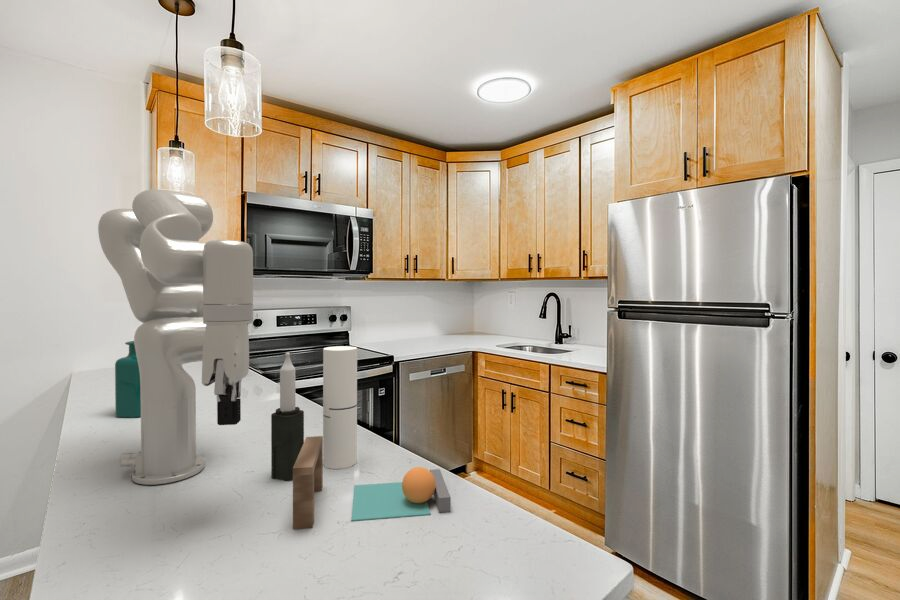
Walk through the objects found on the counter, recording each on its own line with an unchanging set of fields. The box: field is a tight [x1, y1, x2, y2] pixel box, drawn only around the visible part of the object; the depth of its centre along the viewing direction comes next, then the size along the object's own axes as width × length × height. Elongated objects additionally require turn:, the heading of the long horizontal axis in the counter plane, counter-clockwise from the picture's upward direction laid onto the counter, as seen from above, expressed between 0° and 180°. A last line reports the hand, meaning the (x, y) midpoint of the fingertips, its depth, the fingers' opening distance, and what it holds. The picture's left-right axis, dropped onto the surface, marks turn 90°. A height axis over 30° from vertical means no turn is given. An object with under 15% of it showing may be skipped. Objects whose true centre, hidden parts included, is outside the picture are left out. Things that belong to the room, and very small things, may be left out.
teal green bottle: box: [114, 340, 141, 419], centre depth 133 cm, size 10×8×22 cm
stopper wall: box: [429, 468, 452, 513], centre depth 82 cm, size 2×12×2 cm, turn 10°
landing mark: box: [351, 481, 431, 522], centre depth 80 cm, size 13×13×1 cm
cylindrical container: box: [322, 345, 358, 470], centre depth 97 cm, size 7×7×25 cm
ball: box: [401, 466, 436, 503], centre depth 80 cm, size 6×6×6 cm
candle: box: [270, 351, 305, 482], centre depth 90 cm, size 5×5×25 cm
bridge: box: [292, 435, 324, 530], centre depth 78 cm, size 3×15×10 cm, turn 10°
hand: (229, 423), depth 75 cm, fingers closed
